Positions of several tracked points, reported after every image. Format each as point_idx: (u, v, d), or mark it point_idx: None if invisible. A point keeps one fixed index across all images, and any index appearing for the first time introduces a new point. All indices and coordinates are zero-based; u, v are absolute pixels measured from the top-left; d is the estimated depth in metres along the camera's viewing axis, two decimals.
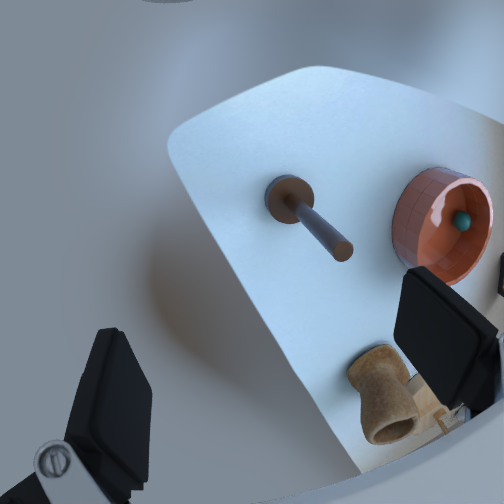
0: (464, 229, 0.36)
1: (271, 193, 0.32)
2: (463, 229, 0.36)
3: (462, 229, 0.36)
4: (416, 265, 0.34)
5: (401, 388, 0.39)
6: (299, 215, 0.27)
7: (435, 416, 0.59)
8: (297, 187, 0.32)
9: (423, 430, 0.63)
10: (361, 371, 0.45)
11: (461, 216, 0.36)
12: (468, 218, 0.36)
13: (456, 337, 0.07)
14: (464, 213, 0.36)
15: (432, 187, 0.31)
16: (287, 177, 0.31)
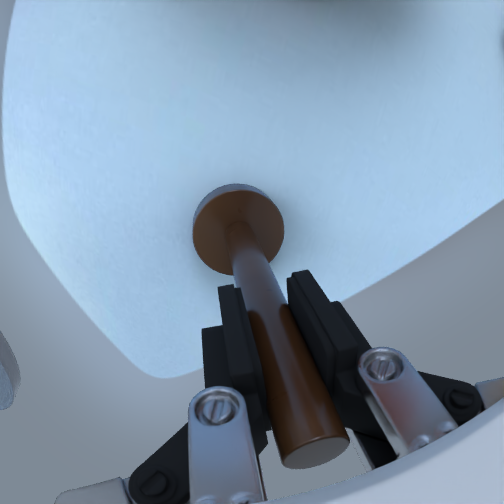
0: None
1: (224, 271, 0.18)
2: None
3: None
4: None
5: None
6: None
7: None
8: (212, 227, 0.17)
9: None
10: None
11: None
12: None
13: (316, 347, 0.07)
14: None
15: None
16: (194, 244, 0.17)
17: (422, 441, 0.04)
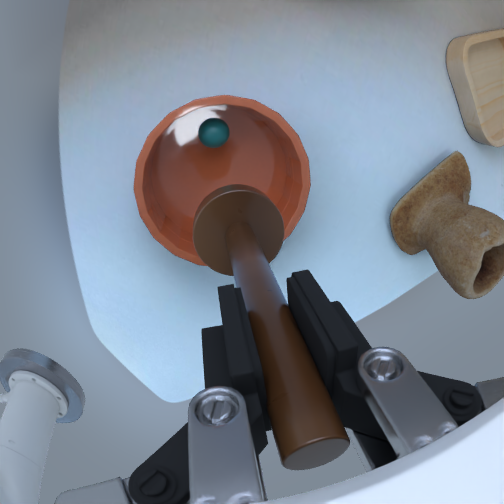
0: (223, 136, 0.27)
1: (224, 272, 0.18)
2: (224, 137, 0.27)
3: (224, 139, 0.27)
4: None
5: (446, 239, 0.28)
6: None
7: None
8: (212, 227, 0.17)
9: None
10: (414, 245, 0.36)
11: (204, 143, 0.27)
12: (205, 133, 0.26)
13: (316, 347, 0.07)
14: (199, 136, 0.27)
15: None
16: (194, 244, 0.17)
17: (422, 441, 0.04)
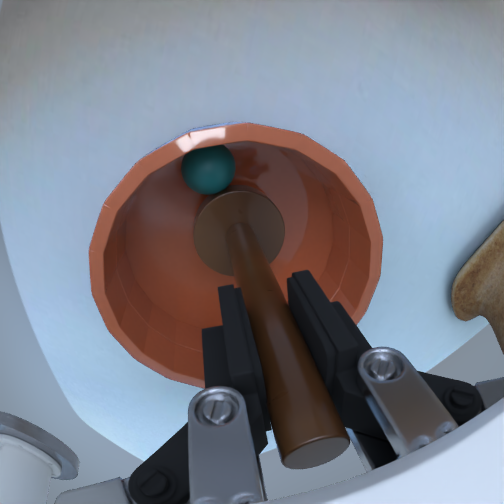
0: (216, 162, 0.15)
1: (225, 272, 0.18)
2: (216, 166, 0.15)
3: (217, 169, 0.15)
4: None
5: None
6: None
7: None
8: (212, 227, 0.17)
9: None
10: (473, 313, 0.26)
11: (186, 180, 0.16)
12: (186, 157, 0.15)
13: (316, 347, 0.07)
14: None
15: None
16: None
17: (422, 441, 0.04)
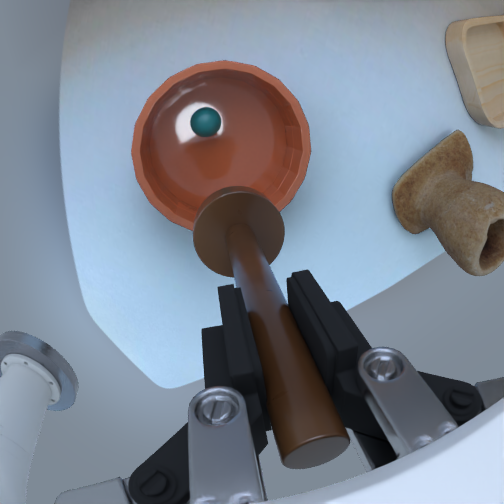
0: None
1: (225, 273, 0.18)
2: None
3: None
4: None
5: (449, 213, 0.27)
6: None
7: None
8: (212, 229, 0.17)
9: None
10: (417, 223, 0.35)
11: (193, 130, 0.27)
12: (200, 133, 0.27)
13: (316, 347, 0.07)
14: (192, 127, 0.27)
15: None
16: (194, 246, 0.17)
17: (422, 441, 0.04)
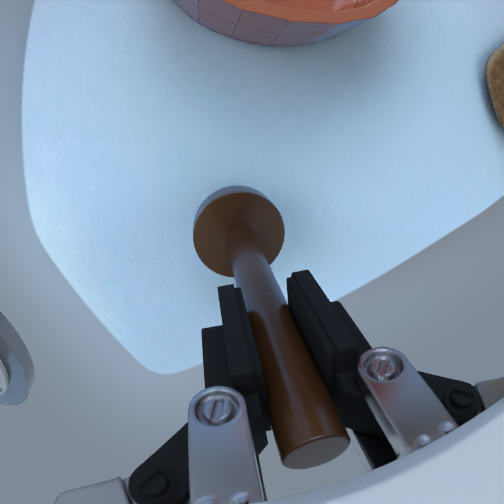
0: None
1: (225, 273, 0.18)
2: None
3: None
4: (361, 20, 0.12)
5: None
6: None
7: None
8: (212, 229, 0.17)
9: None
10: None
11: None
12: None
13: (316, 347, 0.07)
14: None
15: None
16: None
17: (422, 441, 0.04)
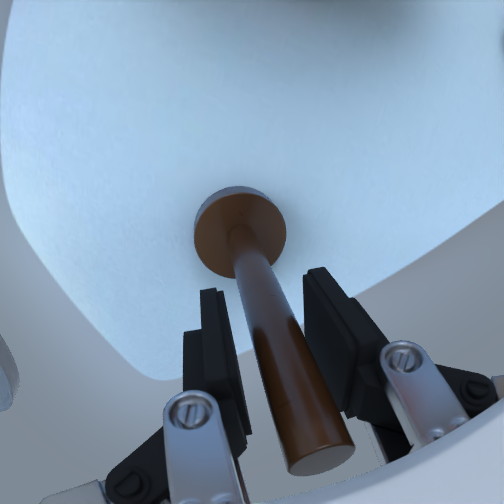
0: None
1: (226, 274, 0.18)
2: None
3: None
4: None
5: None
6: None
7: None
8: (213, 230, 0.17)
9: None
10: None
11: None
12: None
13: (336, 342, 0.07)
14: None
15: None
16: (195, 248, 0.17)
17: (436, 433, 0.04)
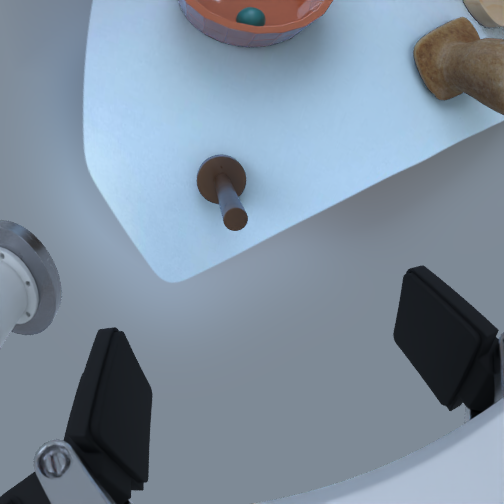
0: (259, 21, 0.23)
1: (213, 201, 0.32)
2: (258, 22, 0.23)
3: (258, 24, 0.24)
4: (299, 28, 0.22)
5: (471, 53, 0.21)
6: None
7: None
8: (207, 176, 0.31)
9: None
10: (442, 85, 0.29)
11: (239, 21, 0.24)
12: (244, 12, 0.23)
13: (456, 337, 0.07)
14: (237, 15, 0.23)
15: (194, 15, 0.22)
16: None
17: None
